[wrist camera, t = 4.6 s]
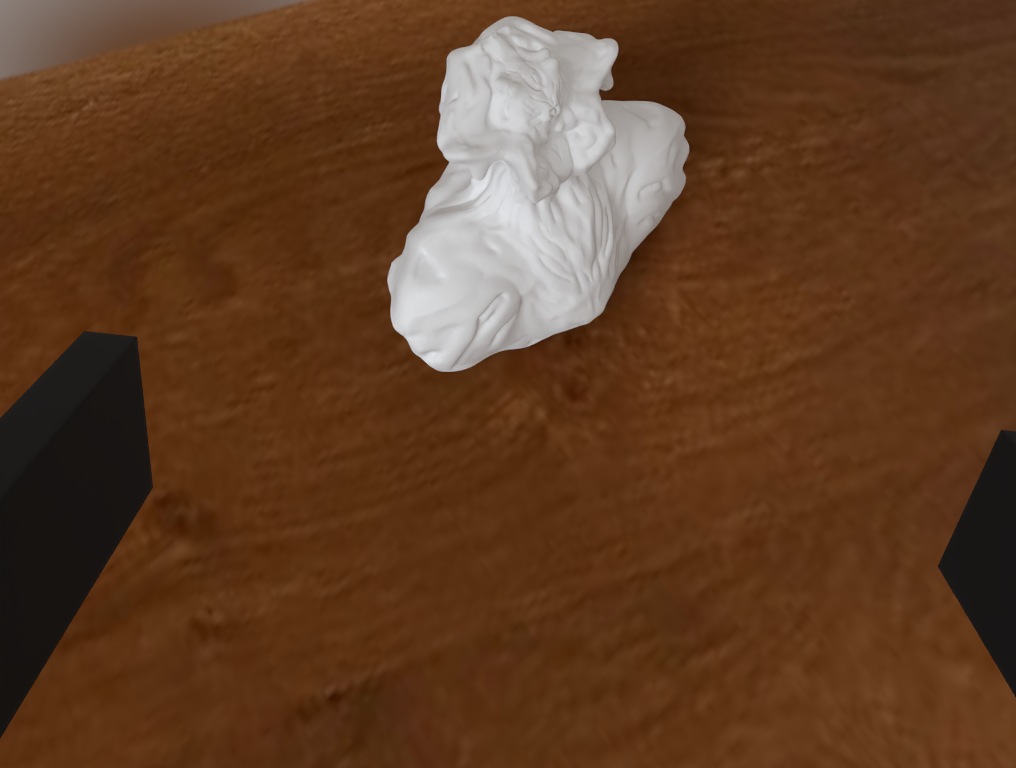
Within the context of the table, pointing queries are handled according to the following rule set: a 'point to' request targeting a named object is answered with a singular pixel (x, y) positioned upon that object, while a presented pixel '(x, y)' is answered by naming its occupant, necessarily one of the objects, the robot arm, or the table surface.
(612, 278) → the bust
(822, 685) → the table surface
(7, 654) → the robot arm
